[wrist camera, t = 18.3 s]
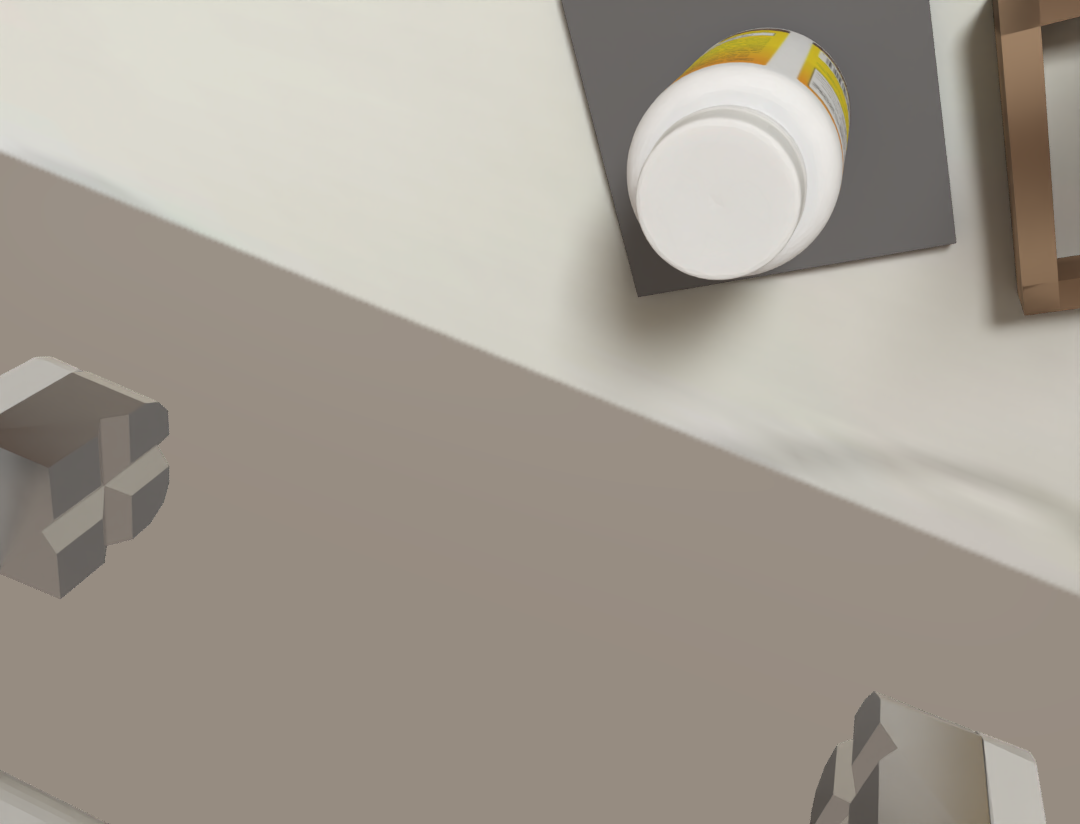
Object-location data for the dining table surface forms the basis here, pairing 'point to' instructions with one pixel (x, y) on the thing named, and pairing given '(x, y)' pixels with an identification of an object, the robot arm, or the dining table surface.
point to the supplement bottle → (742, 155)
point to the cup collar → (1032, 154)
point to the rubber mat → (875, 102)
